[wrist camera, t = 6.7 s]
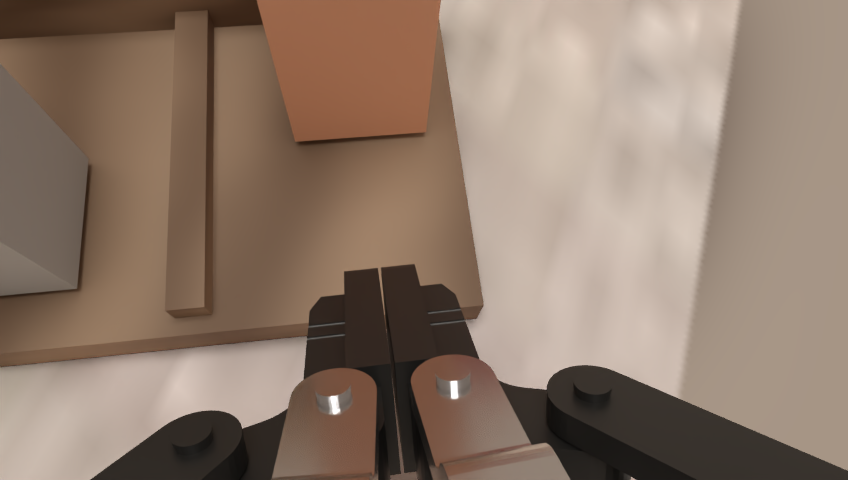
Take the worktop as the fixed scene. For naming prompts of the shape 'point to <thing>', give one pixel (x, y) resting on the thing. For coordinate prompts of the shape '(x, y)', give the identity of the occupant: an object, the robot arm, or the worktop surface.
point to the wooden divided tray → (216, 184)
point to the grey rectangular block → (37, 197)
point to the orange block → (353, 64)
